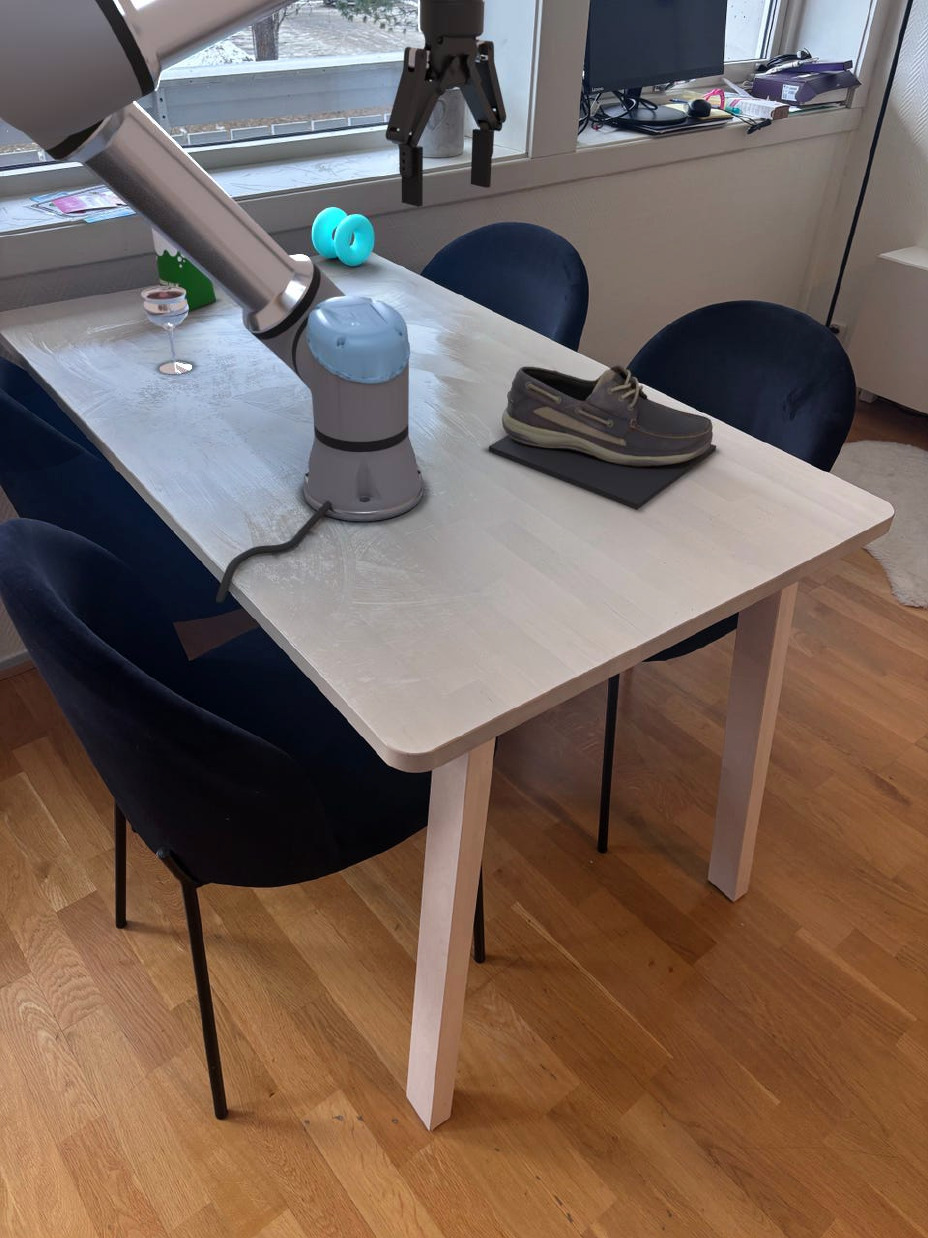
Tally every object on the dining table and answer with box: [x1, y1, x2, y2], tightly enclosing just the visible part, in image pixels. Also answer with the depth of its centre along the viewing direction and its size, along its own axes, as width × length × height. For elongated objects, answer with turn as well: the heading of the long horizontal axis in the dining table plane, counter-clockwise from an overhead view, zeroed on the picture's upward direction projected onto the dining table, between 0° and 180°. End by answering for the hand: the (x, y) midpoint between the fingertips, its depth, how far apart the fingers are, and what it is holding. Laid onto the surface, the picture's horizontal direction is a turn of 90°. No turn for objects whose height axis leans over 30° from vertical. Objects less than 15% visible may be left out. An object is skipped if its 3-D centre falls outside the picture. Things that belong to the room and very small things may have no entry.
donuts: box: [311, 207, 375, 267], centre depth 197 cm, size 10×10×10 cm
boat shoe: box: [501, 364, 714, 466], centre depth 131 cm, size 11×29×11 cm, turn 78°
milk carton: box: [150, 226, 217, 312], centre depth 172 cm, size 9×9×20 cm
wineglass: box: [140, 285, 192, 375], centre depth 150 cm, size 7×7×12 cm
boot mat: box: [488, 435, 717, 510], centre depth 135 cm, size 22×24×1 cm
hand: (447, 194), depth 121 cm, fingers open, 13 cm apart
